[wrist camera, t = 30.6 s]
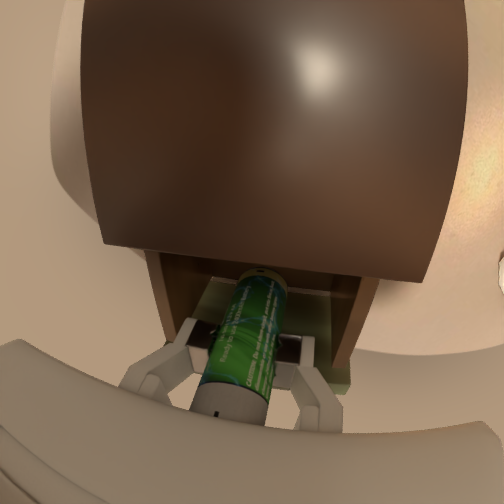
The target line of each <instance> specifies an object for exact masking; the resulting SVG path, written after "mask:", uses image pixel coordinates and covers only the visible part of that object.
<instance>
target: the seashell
mask: <svg viewBox="0 0 504 504" xmlns="http://www.w3.org/2000/svg"><path fill="white" fill-rule="evenodd" d="M499 267H500V268H499V269H500V271H499V277H500V279H499V286H500V287H501V289H502V291H503V293H504V257H503V259H502V260H501V261H500V262H499Z"/></svg>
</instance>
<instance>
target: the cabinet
mask: <svg viewBox="0 0 504 504" xmlns="http://www.w3.org/2000/svg"><path fill="white" fill-rule="evenodd" d="M80 75H81V104H82V118H83V130H84V139H85V148H86V155H87V163H88V169H89V176H90V181H91V187H92V193H93V198H94V203H95V208H96V212H97V217H98V221H99V226H100V230H101V234H102V238H103V242H104V244H108V245H114V246H121V247H129V248H136V249H143V250H150V251H158V252H165V253H173V254H180V255H188V256H195V257H203V258H211V259H218V260H226V261H234V262H242V263H250V264H258V265H266V266H274V267H282V268H291V269H299V270H307V271H316V272H324V273H333V274H342V275H350V276H359V277H368V278H377V279H386V280H395V281H405V282H414V283H422V281H423V279H424V276H425V274H426V271H427V269H428V266H429V264H430V261H431V258H432V255H433V253H434V250H435V247H436V244H437V241H438V238H439V235H440V232H441V228H442V225H443V222H444V219H445V215H446V212H447V208H448V204H449V201H450V197H451V193H452V189H453V184H454V180H455V175H456V171H457V166H458V161H459V155H460V150H461V144H462V137H463V130H464V122H465V113H466V102H467V87H468V37H467V23H466V13H465V5H464V0H85V2H84V11H83V21H82V34H81V62H80Z"/></svg>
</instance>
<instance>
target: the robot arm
mask: <svg viewBox="0 0 504 504" xmlns="http://www.w3.org/2000/svg"><path fill="white" fill-rule="evenodd" d="M220 328H221V324H218V323H213V322H208V321H203V320H199V319H193V318H189V317H188V318H186V319H185V321H184V323H183V325H182V327H181V329H180V331H179V332H178V334H177V336H176V338H175V340H174V342H173V343H169V344H167V345H165V346H164V347H162V348H160V349H159V350H157V351H155V352H153V353H152V354H150V355H148V356H147V357H145V358H143V359H141V360H140V361H138V362H136V363H134V364H133V365H131V366H130V367H129V368H128V371H127V372H126V374H125V375H124V377H123V379H122V381H121V382H120V384H119V386H118V387H116V386H114V385H111V384H109V383H107V382H104V381H102V380H99V379H97V378H95V377H93V376H90V375H88V374H86V373H84V372H82V371H80V370H78V369H75V368H73V367H71V366H69V365H67V364H65V363H63V362H61V361H59V360H58V359H56V358H54V357H52V356H50V355H48V354H46V353H44V352H43V351H41V350H39V349H38V348H36V347H34V346H33V345H31V344H29V343H27V342H26V341H24V340H22V339H17V340H13V341H11V342H8V343H6V344H4V345H2V346H0V504H504V456H503V448H502V443H501V440H500V438H499V437H498V436H497V435H496V433H495V432H494V431H493V430H492V429H491V428H490V427H489V426H488V425H487V424H486V423H484V422H483V421H475V422H470V423H465V424H460V425H454V426H448V427H442V428H435V429H427V430H419V431H418V430H417V431H407V432H393V433H357V434H356V433H342V426H343V425H342V424H343V406H342V405H341V403H340V402H339V400H338V399H337V397H336V396H335V394H334V393H333V391H332V390H331V388H330V387H329V385H328V384H327V382H326V381H325V379H324V378H323V377H322V375H321V374H320V372H319V371H318V369H317V368H315V367H313V362H314V343H315V338H314V337H312V336H302V335H295V334H286V333H279V338H278V344H277V349H276V355H275V361H274V367H273V370H274V378H273V384H272V386H276V387H282V388H289V389H290V390H291V392H292V394H293V397H294V399H295V401H296V403H297V405H298V407H299V409H300V414H299V417H298V419H297V422H296V424H295V427H294V429H293V430H289V429H280V428H273V427H266V426H260V425H253V424H248V423H242V422H237V421H232V420H227V419H222V418H217V417H213V416H209V415H205V414H200V413H197V412H193V411H189V410H185V409H182V408H178V407H175V406H172V403H171V401H170V399H169V397H168V395H167V394H168V393H169V392H170V391H171V390H173V389H174V388H175V387H176V386H178V385H179V384H180V383H181V382H183V381H184V380H185V379H186V378H188V377H189V376H190V375H191V374H193V373H194V372H198V373H203V372H204V369H205V367H206V364H207V361H208V359H209V356H210V354H211V351H212V349H213V346H214V343H215V340H216V338H217V336H218V333H219V330H220Z"/></svg>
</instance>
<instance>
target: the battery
mask: <svg viewBox="0 0 504 504" xmlns="http://www.w3.org/2000/svg"><path fill="white" fill-rule="evenodd" d="M287 293H288V286H287V283H286V280H285V279H284V277H283V276H282V275H281V274H280V273H278V272H277V271H275V270H273V269H271V268H267V267H253V268H250V269H248V270H246V271H245V272H244V273H243V274H242V275H241V276H240V278H239V280H238V283H237V285H236V288H235V291H234V293H233V296H232V298H231V301H230V304H229V306H228V309H227V312H226V314H225V317H224V319H223V322H222V325H221V328H220V330H219V333H218V336H217V338H216V340H215V343H214V346H213V349H212V351H211V354H210V356H209V359H208V361H207V364H206V367H205V369H204V372H203V375H202V377H201V380H200V383H199V386H198V388H197V390H196V393H195V396H194V398H193V401H192V404H191V406H190V409H189V411H193V412H197V413H200V414H205V415H209V416H213V417H217V418H222V419H227V420H232V421H237V422H242V423H248V424H253V425H260V426H264V425H265V420H266V415H267V410H268V405H269V400H270V395H271V389H272V384H273V378H274V370H273V367H274V361H275V355H276V349H277V344H278V338H279V333H281V332H282V326H283V319H284V313H285V306H286V300H287Z"/></svg>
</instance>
